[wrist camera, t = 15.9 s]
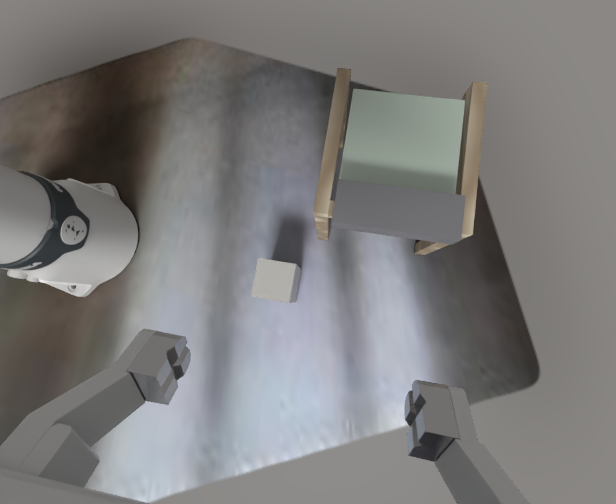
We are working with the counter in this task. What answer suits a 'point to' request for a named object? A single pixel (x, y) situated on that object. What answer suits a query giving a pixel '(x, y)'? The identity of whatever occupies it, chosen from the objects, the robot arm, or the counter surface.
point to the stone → (276, 280)
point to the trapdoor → (401, 167)
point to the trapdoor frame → (467, 160)
